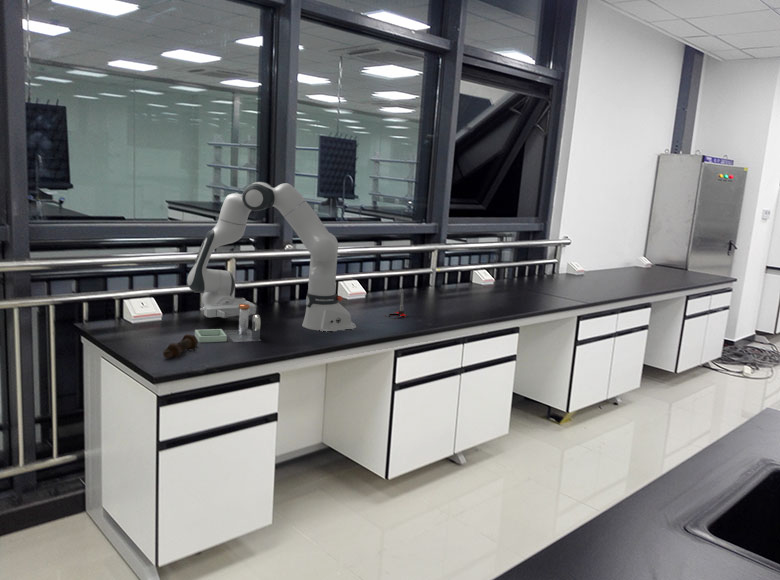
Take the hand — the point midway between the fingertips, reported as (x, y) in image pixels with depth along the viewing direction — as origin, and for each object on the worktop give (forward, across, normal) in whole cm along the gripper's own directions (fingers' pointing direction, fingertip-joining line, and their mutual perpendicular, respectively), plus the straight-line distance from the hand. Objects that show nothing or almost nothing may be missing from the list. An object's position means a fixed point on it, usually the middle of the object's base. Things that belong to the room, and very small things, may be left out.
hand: (237, 314), depth 240 cm
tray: (+9, -14, +7) cm, 18 cm away
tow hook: (-3, +78, +8) cm, 79 cm away
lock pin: (+6, 0, +6) cm, 8 cm away
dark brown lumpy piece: (+20, -29, +7) cm, 36 cm away
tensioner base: (+9, -2, +7) cm, 11 cm away
